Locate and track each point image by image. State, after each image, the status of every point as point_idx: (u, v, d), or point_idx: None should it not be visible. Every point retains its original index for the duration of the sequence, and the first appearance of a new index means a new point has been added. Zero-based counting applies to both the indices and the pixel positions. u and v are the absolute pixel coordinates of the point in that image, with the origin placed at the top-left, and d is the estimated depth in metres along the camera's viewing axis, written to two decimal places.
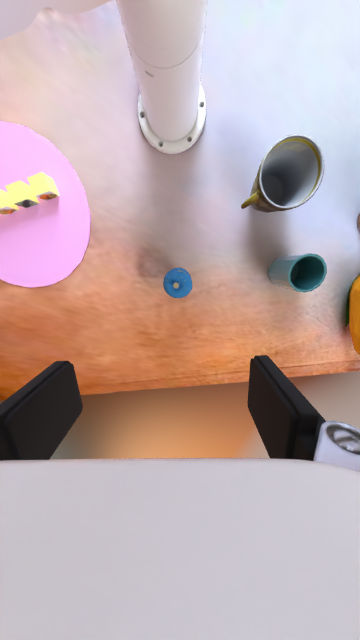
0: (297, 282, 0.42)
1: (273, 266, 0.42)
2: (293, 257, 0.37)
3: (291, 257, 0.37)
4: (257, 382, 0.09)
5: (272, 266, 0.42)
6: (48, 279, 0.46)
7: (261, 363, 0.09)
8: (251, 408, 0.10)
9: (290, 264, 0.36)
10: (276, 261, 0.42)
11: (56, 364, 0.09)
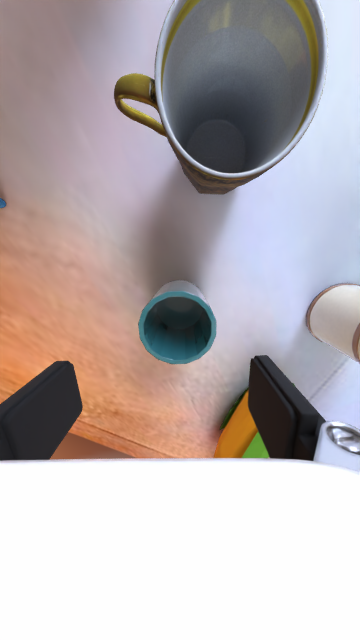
0: (182, 335, 0.24)
1: (161, 287, 0.23)
2: (177, 287, 0.18)
3: (178, 286, 0.19)
4: (257, 382, 0.09)
5: (161, 287, 0.23)
6: None
7: (261, 363, 0.09)
8: (251, 408, 0.10)
9: (158, 295, 0.17)
10: (170, 282, 0.23)
11: (56, 364, 0.09)
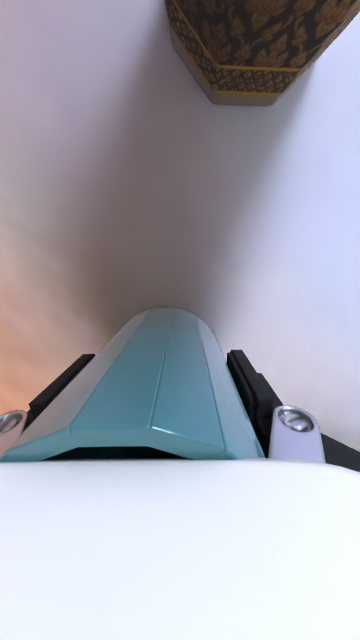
0: None
1: (121, 328, 0.10)
2: (142, 365, 0.05)
3: (148, 352, 0.06)
4: (231, 374, 0.09)
5: (124, 325, 0.10)
6: None
7: (235, 356, 0.09)
8: None
9: (45, 421, 0.04)
10: (142, 317, 0.10)
11: (84, 357, 0.10)
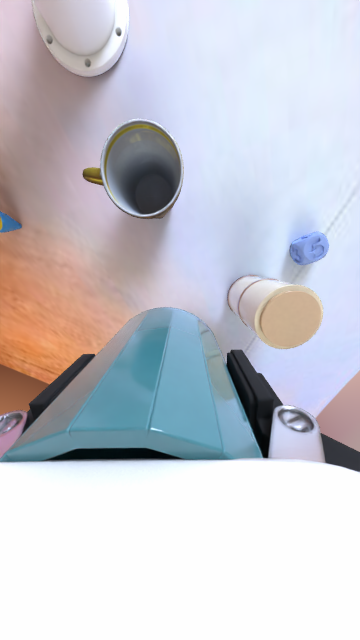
0: None
1: (121, 328, 0.10)
2: (141, 367, 0.05)
3: (147, 354, 0.06)
4: (231, 374, 0.09)
5: (124, 326, 0.10)
6: None
7: (235, 356, 0.09)
8: None
9: (44, 423, 0.04)
10: (142, 318, 0.10)
11: (84, 357, 0.10)
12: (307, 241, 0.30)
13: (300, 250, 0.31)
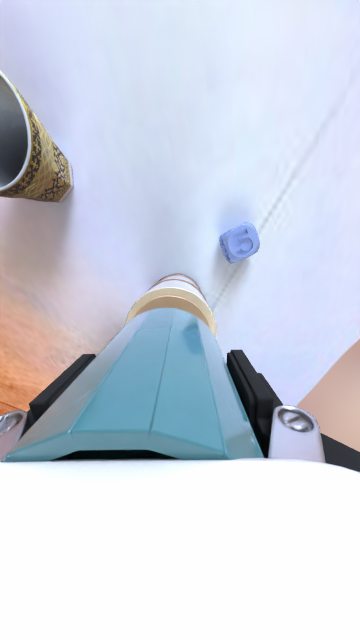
0: None
1: None
2: (142, 368, 0.05)
3: (148, 355, 0.06)
4: (231, 374, 0.09)
5: (124, 326, 0.10)
6: None
7: (234, 356, 0.09)
8: None
9: (45, 425, 0.04)
10: (142, 318, 0.10)
11: (84, 357, 0.10)
12: (231, 233, 0.24)
13: (225, 244, 0.25)
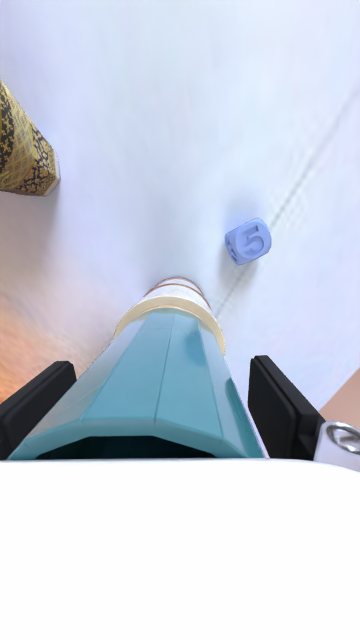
0: None
1: (124, 328, 0.10)
2: (146, 363, 0.05)
3: (151, 351, 0.06)
4: (257, 382, 0.09)
5: None
6: None
7: (261, 363, 0.09)
8: (251, 408, 0.10)
9: (57, 414, 0.04)
10: (144, 318, 0.10)
11: (56, 364, 0.09)
12: (239, 230, 0.21)
13: (232, 244, 0.22)
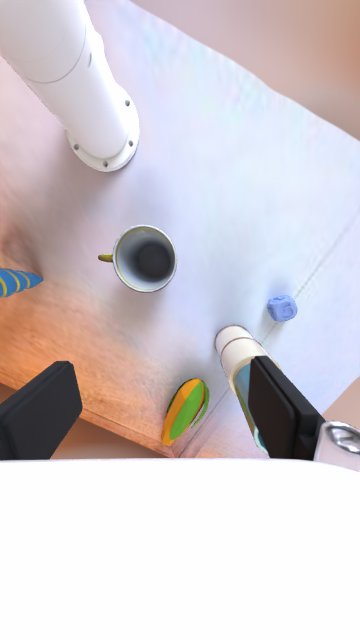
0: None
1: (249, 373, 0.26)
2: None
3: None
4: (257, 382, 0.09)
5: (248, 371, 0.26)
6: None
7: (261, 363, 0.09)
8: (251, 408, 0.10)
9: None
10: None
11: (56, 364, 0.09)
12: (279, 305, 0.37)
13: (274, 311, 0.38)
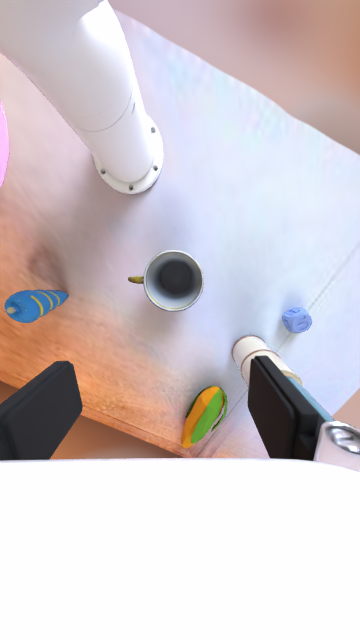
0: None
1: None
2: None
3: None
4: (257, 382, 0.09)
5: None
6: None
7: (261, 363, 0.09)
8: (251, 408, 0.10)
9: None
10: None
11: (56, 364, 0.09)
12: (295, 318, 0.39)
13: (290, 323, 0.40)
